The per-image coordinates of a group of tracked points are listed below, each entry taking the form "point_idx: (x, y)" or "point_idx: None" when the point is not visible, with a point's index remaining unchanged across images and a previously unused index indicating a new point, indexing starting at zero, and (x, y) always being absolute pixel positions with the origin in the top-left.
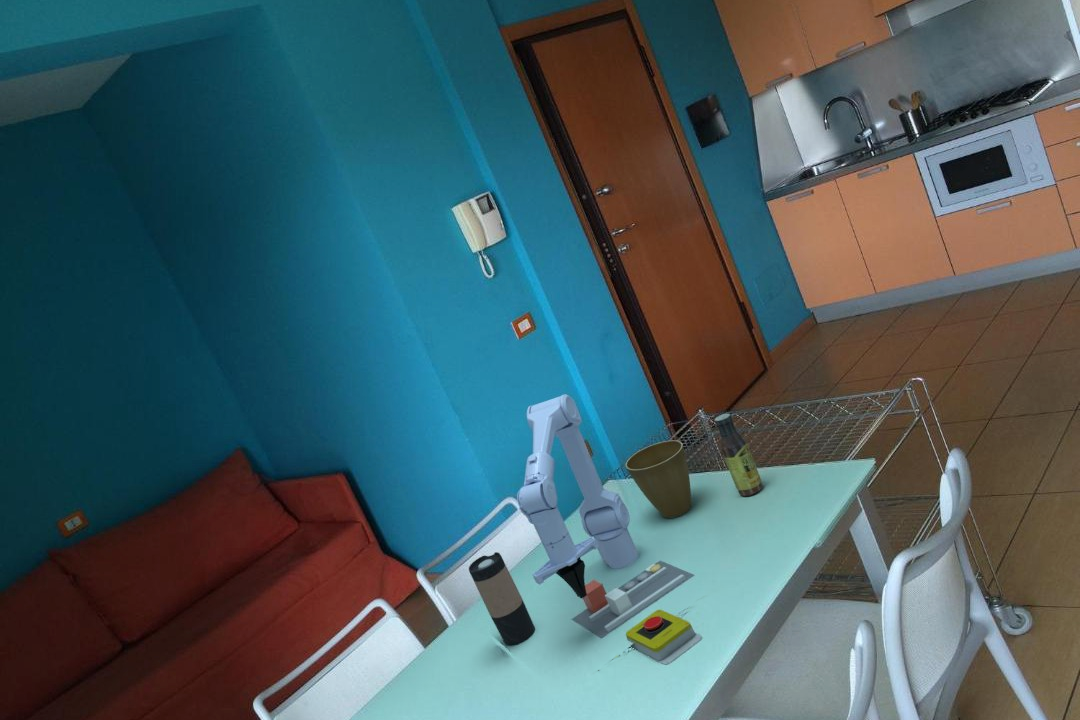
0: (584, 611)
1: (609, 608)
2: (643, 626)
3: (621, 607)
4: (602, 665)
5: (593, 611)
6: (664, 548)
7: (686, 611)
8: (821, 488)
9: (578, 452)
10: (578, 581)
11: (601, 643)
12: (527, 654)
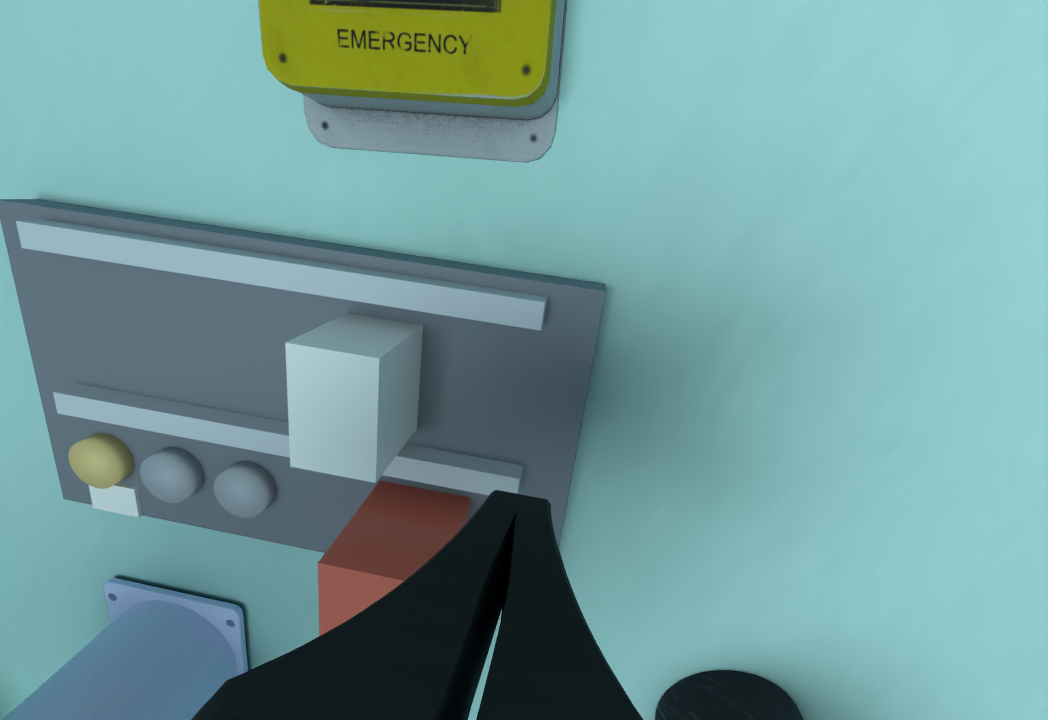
0: None
1: (410, 451)
2: (430, 11)
3: (382, 335)
4: (752, 123)
5: (466, 520)
6: (35, 567)
7: (196, 16)
8: None
9: None
10: (479, 614)
11: None
12: (798, 635)
